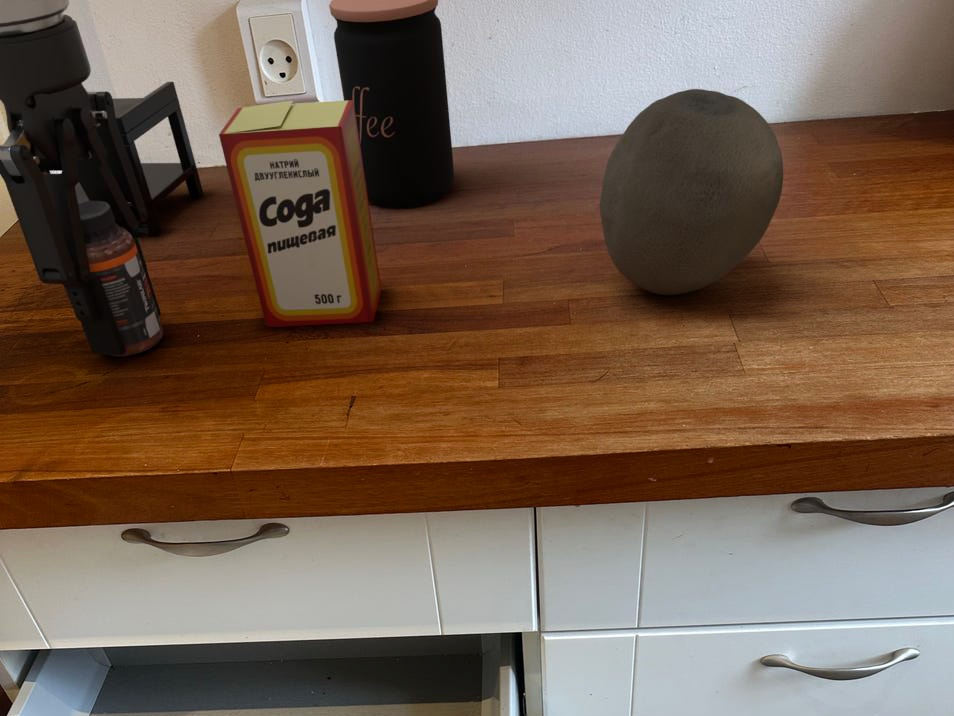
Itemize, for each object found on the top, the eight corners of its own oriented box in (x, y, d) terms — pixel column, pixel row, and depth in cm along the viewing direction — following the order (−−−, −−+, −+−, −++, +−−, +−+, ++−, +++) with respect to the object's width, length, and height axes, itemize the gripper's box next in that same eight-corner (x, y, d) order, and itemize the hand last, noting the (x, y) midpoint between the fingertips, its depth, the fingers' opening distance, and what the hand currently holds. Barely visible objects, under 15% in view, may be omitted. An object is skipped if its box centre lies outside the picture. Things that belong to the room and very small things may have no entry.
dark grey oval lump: (668, 340, 76) (682, 138, 66) (568, 281, 85) (566, 95, 75) (799, 290, 81) (833, 94, 70) (691, 239, 90) (706, 59, 79)
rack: (57, 235, 102) (12, 119, 94) (110, 193, 111) (73, 83, 103) (157, 236, 100) (120, 117, 92) (204, 194, 108) (173, 81, 100)
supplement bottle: (179, 339, 82) (136, 205, 74) (119, 366, 79) (68, 230, 71) (142, 320, 85) (98, 189, 77) (83, 346, 83) (31, 213, 75)
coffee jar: (344, 188, 106) (313, -2, 93) (430, 166, 109) (411, -21, 96) (381, 218, 99) (352, 17, 86) (472, 193, 102) (457, -4, 89)
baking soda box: (381, 288, 87) (352, 94, 76) (372, 321, 82) (340, 120, 71) (280, 294, 88) (236, 103, 76) (266, 327, 83) (217, 129, 72)
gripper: (-13, 58, 58) (115, 392, 75) (130, -12, 71) (212, 286, 88) (-116, 60, 60) (31, 388, 76) (42, -9, 73) (139, 283, 89)
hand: (127, 333), depth 82 cm, fingers closed on supplement bottle, 6 cm apart
